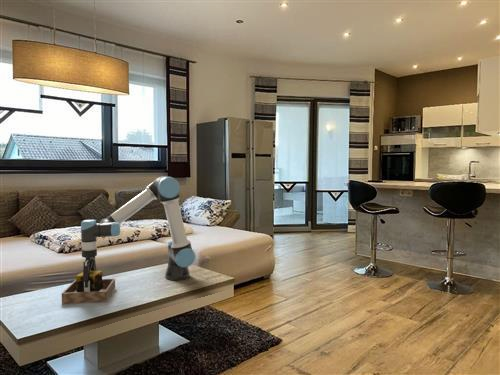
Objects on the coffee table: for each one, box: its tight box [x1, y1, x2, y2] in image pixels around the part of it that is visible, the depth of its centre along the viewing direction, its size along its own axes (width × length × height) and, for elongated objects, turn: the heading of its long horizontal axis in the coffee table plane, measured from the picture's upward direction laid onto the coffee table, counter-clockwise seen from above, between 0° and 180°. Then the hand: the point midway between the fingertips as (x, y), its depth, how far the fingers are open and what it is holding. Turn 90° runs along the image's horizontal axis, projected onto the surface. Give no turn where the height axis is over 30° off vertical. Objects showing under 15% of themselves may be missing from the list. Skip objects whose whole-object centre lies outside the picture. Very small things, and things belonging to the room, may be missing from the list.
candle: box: [75, 270, 103, 292], centre depth 201 cm, size 10×10×10 cm
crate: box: [61, 278, 116, 305], centre depth 202 cm, size 22×22×6 cm
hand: (90, 289), depth 202 cm, fingers closed on candle, 11 cm apart
